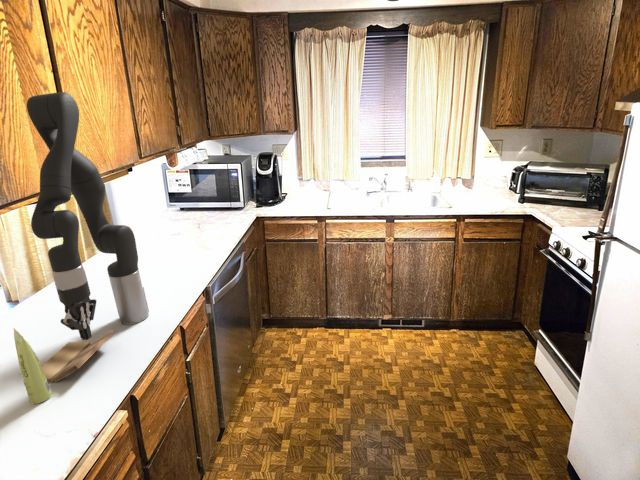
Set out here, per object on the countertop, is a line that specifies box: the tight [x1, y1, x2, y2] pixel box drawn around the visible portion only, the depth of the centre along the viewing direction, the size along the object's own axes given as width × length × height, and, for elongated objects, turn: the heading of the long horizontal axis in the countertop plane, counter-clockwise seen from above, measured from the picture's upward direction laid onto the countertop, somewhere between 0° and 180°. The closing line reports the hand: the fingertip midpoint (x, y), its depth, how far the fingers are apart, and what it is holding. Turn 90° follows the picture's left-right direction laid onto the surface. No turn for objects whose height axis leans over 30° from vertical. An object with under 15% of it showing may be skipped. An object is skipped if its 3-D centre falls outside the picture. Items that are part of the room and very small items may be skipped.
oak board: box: [41, 341, 91, 384], centre depth 129 cm, size 18×8×1 cm, turn 174°
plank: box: [53, 329, 115, 383], centre depth 127 cm, size 18×9×1 cm
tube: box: [13, 327, 53, 404], centre depth 111 cm, size 6×5×20 cm
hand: (86, 338), depth 125 cm, fingers closed
